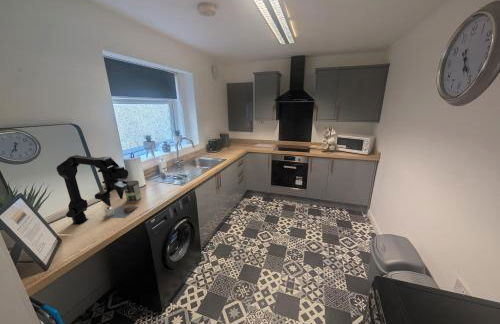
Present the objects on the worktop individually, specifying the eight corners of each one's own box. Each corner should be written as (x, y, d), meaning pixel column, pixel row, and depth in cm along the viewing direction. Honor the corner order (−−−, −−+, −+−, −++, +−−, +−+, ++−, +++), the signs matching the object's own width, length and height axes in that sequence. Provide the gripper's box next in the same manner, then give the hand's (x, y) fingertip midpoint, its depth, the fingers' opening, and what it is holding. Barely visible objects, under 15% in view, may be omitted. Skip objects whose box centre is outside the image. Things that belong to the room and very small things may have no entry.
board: (102, 218, 125) (102, 217, 125) (118, 207, 138) (118, 206, 138) (125, 218, 123) (125, 217, 123) (139, 207, 137) (138, 206, 136)
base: (121, 212, 130) (120, 209, 129) (128, 207, 137) (128, 203, 136) (131, 212, 129) (130, 209, 129) (137, 207, 136) (137, 204, 135)
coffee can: (129, 204, 142) (125, 186, 138) (125, 199, 149) (121, 183, 145) (144, 199, 149) (140, 182, 145) (139, 195, 156) (136, 179, 152)
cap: (104, 216, 125) (102, 208, 123) (109, 213, 129) (107, 205, 128) (110, 216, 125) (108, 208, 123) (115, 213, 129) (113, 205, 127)
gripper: (109, 185, 100) (116, 211, 104) (133, 173, 118) (138, 195, 122) (90, 185, 101) (98, 210, 106) (116, 173, 119) (122, 195, 123)
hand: (115, 202), depth 114 cm, fingers open, 9 cm apart
